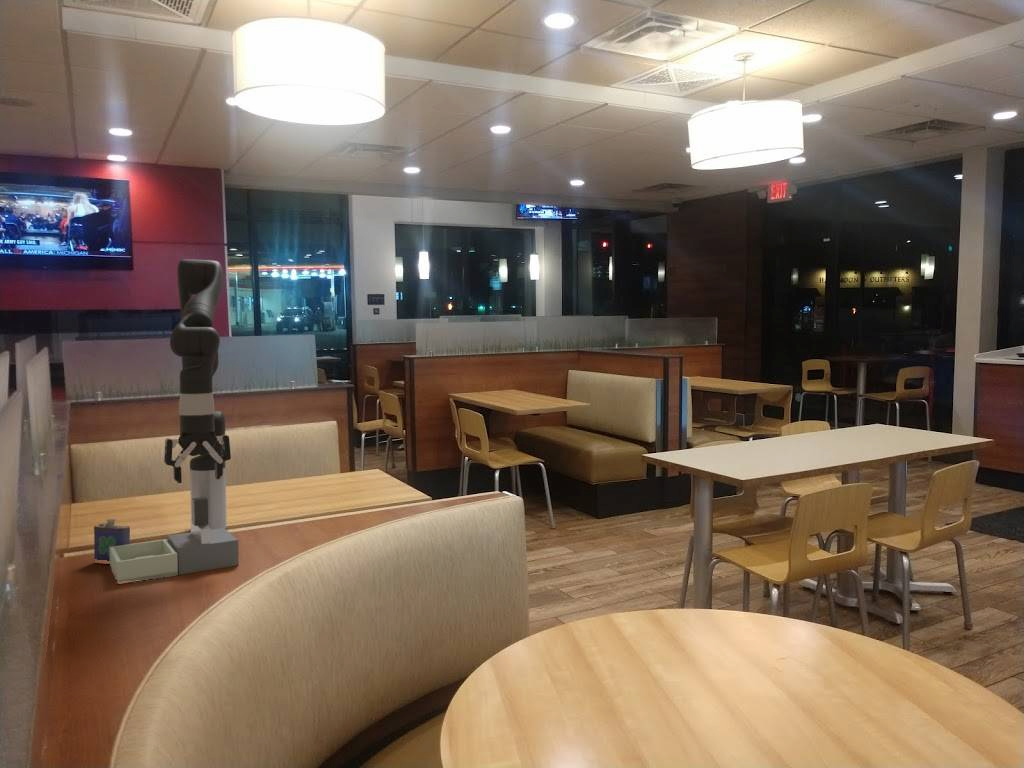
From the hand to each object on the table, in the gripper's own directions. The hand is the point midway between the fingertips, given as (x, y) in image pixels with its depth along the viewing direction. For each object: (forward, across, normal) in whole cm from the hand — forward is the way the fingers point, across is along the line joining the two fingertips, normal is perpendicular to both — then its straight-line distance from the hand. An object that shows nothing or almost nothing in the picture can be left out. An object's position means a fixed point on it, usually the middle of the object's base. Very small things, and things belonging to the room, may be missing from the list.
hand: (198, 480), depth 176 cm
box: (+20, +12, 0) cm, 23 cm away
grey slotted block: (+20, 0, 0) cm, 20 cm away
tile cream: (+18, +11, -3) cm, 21 cm away
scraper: (+14, 0, +1) cm, 14 cm away
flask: (+20, +18, -11) cm, 29 cm away
